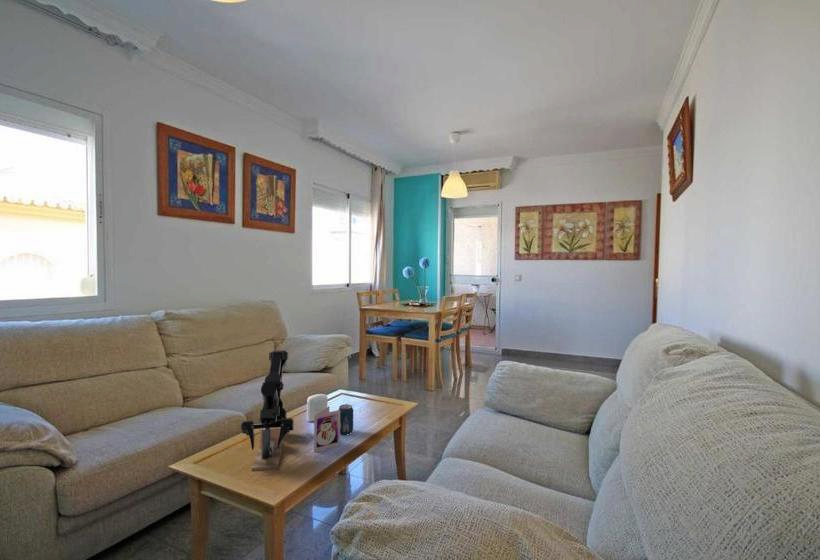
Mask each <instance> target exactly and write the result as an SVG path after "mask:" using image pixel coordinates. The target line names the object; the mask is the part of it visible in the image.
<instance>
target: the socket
mask: <svg viewBox="0 0 820 560" xmlns="http://www.w3.org/2000/svg"><path fill="white" fill-rule="evenodd" d="M280 429H281V427H279V428H270V439H276V448H278V440H279V435H280ZM259 430H260V431H259V432H260V433H259V434H260V435H259V439H260V440H259V447H260V449H261V448H262V429H259ZM282 442H283V441H282ZM282 442H281V444H280V446H279V447H281V445H282Z"/></svg>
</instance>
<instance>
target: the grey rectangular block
mask: <svg viewBox="0 0 820 560" xmlns="http://www.w3.org/2000/svg"><path fill="white" fill-rule="evenodd" d="M270 449H272V450H271V454H270V457H269V459H271V458H273V456H274V453H275V449H276V439H270ZM261 459H262V448H261Z"/></svg>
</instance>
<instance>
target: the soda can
mask: <svg viewBox="0 0 820 560" xmlns="http://www.w3.org/2000/svg"><path fill="white" fill-rule="evenodd" d="M338 410H340V434H342V435H341V436H348V435H347V434H349V435H351V434H352V433H353V431H354V408H353V406H352V405H351V404H347V403H346V404H341V405H339V408H338ZM350 433H351V434H350Z"/></svg>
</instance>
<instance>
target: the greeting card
mask: <svg viewBox="0 0 820 560" xmlns="http://www.w3.org/2000/svg"><path fill="white" fill-rule="evenodd" d="M313 422H314V423H313V453H315V451H316V452H320V451H323V450H327V449H330V448H329V447H331V448H334V447H337V446H336V445H338V446H340V445H339V444H341V435H340V410H339V409H338V410H334V411H330V406H327V408H325V409H324V410H322V411H321V412H319V413H317V414H316V415H314V421H313ZM333 446H334V447H333ZM326 448H327V449H326ZM322 449H323V450H322ZM319 450H320V451H319Z"/></svg>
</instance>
